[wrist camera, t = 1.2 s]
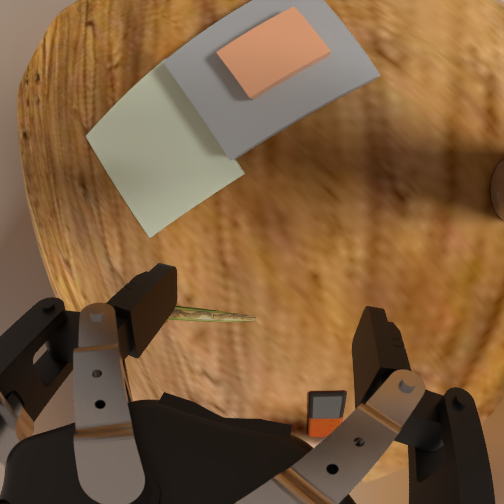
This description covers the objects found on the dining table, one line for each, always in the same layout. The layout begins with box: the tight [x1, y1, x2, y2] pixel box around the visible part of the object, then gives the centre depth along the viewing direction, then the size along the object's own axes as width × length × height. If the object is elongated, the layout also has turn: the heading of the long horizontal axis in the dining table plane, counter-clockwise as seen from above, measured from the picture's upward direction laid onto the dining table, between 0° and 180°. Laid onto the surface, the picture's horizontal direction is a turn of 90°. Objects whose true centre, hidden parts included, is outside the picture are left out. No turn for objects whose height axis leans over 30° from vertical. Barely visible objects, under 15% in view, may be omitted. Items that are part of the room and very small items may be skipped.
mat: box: [86, 59, 245, 238], centre depth 35 cm, size 16×18×1 cm
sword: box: [166, 306, 256, 322], centre depth 44 cm, size 25×4×1 cm, turn 94°
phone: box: [308, 390, 347, 437], centre depth 48 cm, size 6×1×15 cm
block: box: [216, 7, 331, 100], centre depth 24 cm, size 9×6×2 cm, turn 123°
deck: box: [163, 0, 380, 161], centre depth 27 cm, size 18×14×4 cm
